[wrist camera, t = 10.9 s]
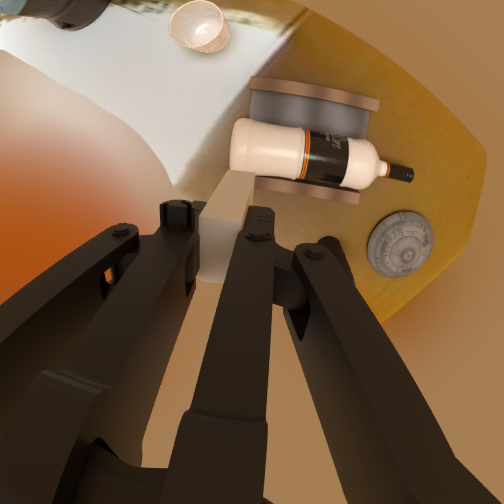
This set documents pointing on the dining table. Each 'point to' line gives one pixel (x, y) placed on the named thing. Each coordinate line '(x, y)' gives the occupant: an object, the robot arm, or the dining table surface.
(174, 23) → the white cup
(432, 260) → the dining table surface
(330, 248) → the butter churn
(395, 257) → the flying saucer
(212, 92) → the dining table surface
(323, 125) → the u rest
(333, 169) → the vodka
